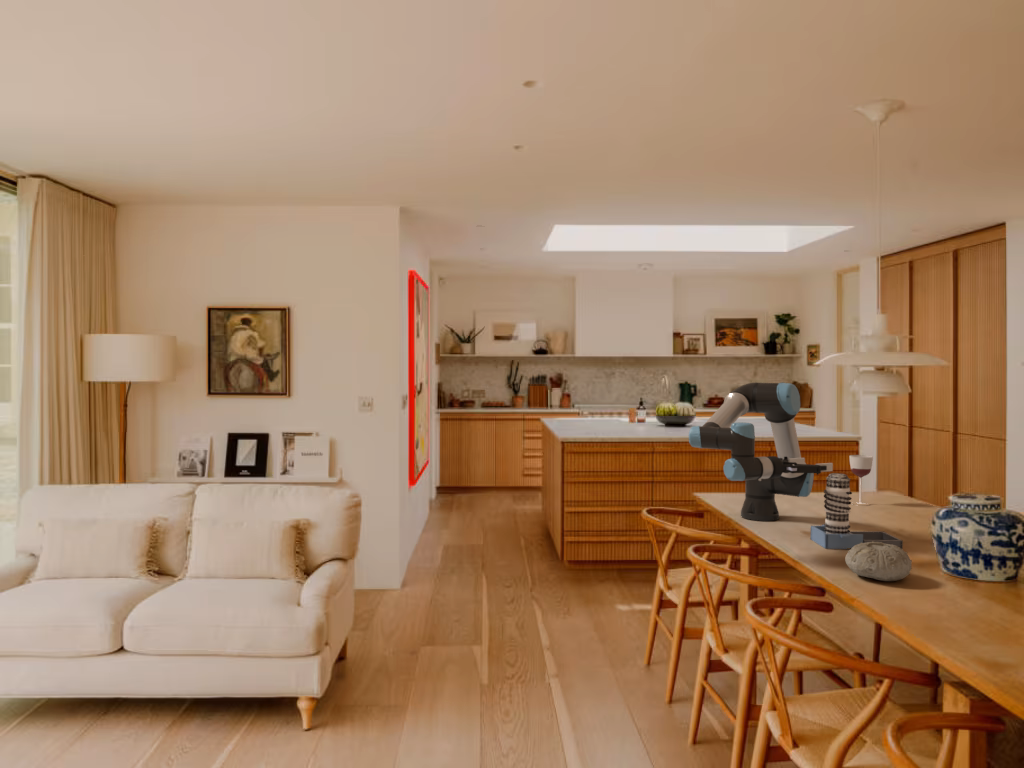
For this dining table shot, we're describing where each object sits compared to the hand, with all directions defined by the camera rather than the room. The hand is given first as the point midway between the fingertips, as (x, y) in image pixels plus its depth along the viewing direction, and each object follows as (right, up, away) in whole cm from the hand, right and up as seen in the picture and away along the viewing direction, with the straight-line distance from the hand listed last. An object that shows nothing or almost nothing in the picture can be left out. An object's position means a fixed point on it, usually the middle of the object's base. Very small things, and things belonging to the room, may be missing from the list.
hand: (817, 464), depth 254 cm
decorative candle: (+8, -29, +4) cm, 31 cm away
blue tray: (+8, -29, +4) cm, 30 cm away
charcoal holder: (+21, -29, +4) cm, 36 cm away
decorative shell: (+3, -30, -36) cm, 47 cm away
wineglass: (+52, -27, +77) cm, 97 cm away
